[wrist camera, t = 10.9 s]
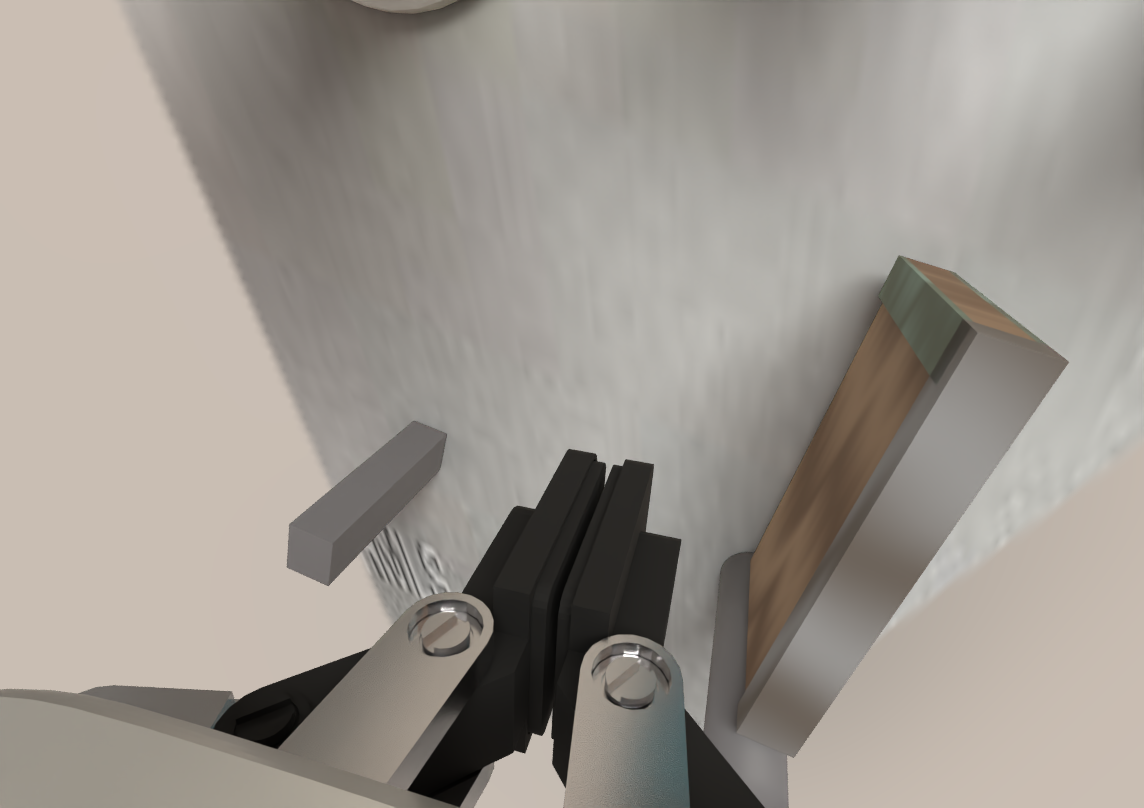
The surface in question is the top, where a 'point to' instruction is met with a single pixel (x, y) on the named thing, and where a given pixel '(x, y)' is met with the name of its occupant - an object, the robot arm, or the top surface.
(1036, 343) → the gate
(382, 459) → the post
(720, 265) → the top surface
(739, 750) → the hinge post
